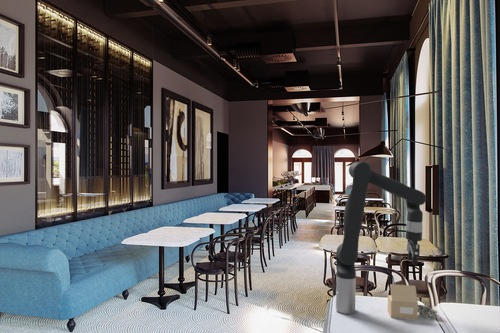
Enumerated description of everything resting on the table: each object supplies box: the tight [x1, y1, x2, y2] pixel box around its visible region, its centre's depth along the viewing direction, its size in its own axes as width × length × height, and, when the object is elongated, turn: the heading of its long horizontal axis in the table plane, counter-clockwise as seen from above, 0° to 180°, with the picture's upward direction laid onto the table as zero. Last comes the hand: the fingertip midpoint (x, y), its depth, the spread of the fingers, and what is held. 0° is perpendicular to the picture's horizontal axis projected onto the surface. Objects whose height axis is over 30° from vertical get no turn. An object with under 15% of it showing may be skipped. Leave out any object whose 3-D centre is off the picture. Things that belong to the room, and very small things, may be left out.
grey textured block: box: [418, 304, 438, 320], centre depth 182 cm, size 11×8×4 cm
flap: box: [390, 283, 419, 303], centre depth 179 cm, size 12×8×1 cm
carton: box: [387, 294, 419, 321], centre depth 181 cm, size 12×9×8 cm
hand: (412, 262), depth 185 cm, fingers open, 8 cm apart
